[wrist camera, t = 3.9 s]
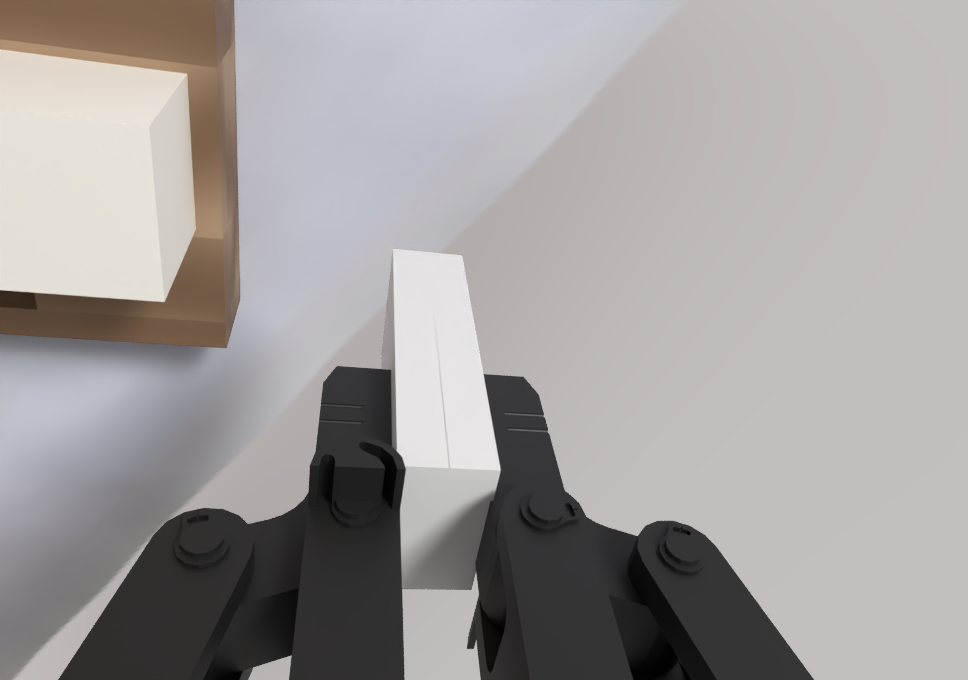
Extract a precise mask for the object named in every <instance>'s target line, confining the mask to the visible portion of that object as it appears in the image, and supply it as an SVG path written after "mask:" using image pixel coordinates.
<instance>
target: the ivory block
mask: <svg viewBox="0 0 968 680" xmlns="http://www.w3.org/2000/svg"><path fill="white" fill-rule="evenodd" d="M195 230H196V223H195V205H194V187H193V169H192V152H191V134H190V116H189V98H188V80H187V74H185V73H177V72H169V71H162V70H154V69H146V68H139V67H131V66H123V65H116V64H108V63H100V62H93V61H85V60H77V59H70V58H62V57H54V56H47V55H39V54H31V53H24V52H16V51H8V50H1V49H0V290H6V291H20V292H33V293H47V294H61V295H74V296H88V297H102V298H115V299H129V300H142V301H156V302H165V300H166V298H167V295H168V293H169V291H170V288H171V286H172V284H173V281H174V279H175V277H176V274H177V272H178V270H179V267H180V265H181V263H182V260H183V258H184V256H185V253H186V251H187V249H188V246H189V244H190V242H191V239H192V237H193V235H194V233H195Z"/></svg>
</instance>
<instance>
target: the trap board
mask: <svg viewBox="0 0 968 680" xmlns="http://www.w3.org/2000/svg"><path fill="white" fill-rule="evenodd" d="M0 49H1V50H8V51H16V52H24V53H31V54H39V55H47V56H54V57H62V58H70V59H77V60H85V61H93V62H100V63H108V64H116V65H123V66H131V67H139V68H146V69H154V70H162V71H169V72H177V73H185V74H187V80H188V98H189V116H190V134H191V152H192V169H193V187H194V205H195V223H196V230H195V233H194V235H193V237H192V239H191V242H190V244H189V246H188V249H187V251H186V253H185V256H184V258H183V260H182V263H181V265H180V267H179V270H178V272H177V274H176V277H175V279H174V281H173V284H172V286H171V288H170V291H169V293H168V295H167V298H166V300H165V302H156V301H142V300H129V299H115V298H102V297H88V296H74V295H61V294H47V293H33V292H20V291H6V290H0V334H11V335H27V336H43V337H59V338H75V339H91V340H106V341H122V342H138V343H154V344H170V345H186V346H202V347H218V348H227V345H228V341H229V337H230V334H231V330H232V327H233V323H234V319H235V316H236V312H237V308H238V305H239V301H240V274H239V225H238V176H237V126H236V77H235V28H234V0H0Z"/></svg>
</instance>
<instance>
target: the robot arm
mask: <svg viewBox="0 0 968 680" xmlns="http://www.w3.org/2000/svg"><path fill="white" fill-rule="evenodd" d="M543 415H544V413H543V410H542V406H541V402H540V398H539V395H538V394H537V392H536V391H535V390H534V389H533V388H532V387H531V385H530V384H529V383H528V382H527V381H526V380H525V378H524V377H516V376H501V375H486V374H483V369H482V364H481V358H480V352H479V347H478V342H477V336H476V330H475V325H474V319H473V314H472V308H471V303H470V297H469V291H468V287H467V281H466V275H465V270H464V264H463V258H462V256H461V255H450V254H440V253H430V252H420V251H410V250H399V249H393V254H392V263H391V272H390V281H389V290H388V299H387V308H386V318H385V326H384V336H383V344H382V369H370V368H355V367H341V366H337V367H336V368H335V369H334V370H333V372H332V373H331V374H330V375H329V376H328V378H327V379H326V380H325V381H324V383H323V391H322V400H321V409H320V418H319V427H318V436H317V445H316V453H315V455H314V457H313V459H312V462H311V464H310V477H309V493H308V494H307V496H306V497H305V499H304V500H303V501H302V502H301V503H300V504H299V505H297V506H296V507H295V508H294V509H292V510H290V511H289V512H287V513H285V514H283V515H281V516H278V517H275V518H272V519H269V520H264V521H260V522H256V523H252V524H247V523H246V522H245V521H244V520H243V519H242V518H241V517H240V516H238V515H236V514H234V513H231V512H229V511H226V510H223V509H210V508H202V509H197V510H193V511H188V512H184V513H182V514H180V515H178V516H176V517H175V518H173V519H171V520H169V521H167V522H166V523H165V524H164V525H163V526H162V527H161V528H160V529H159V530H158V531H157V532H156V533H155V534H154V535H153V537H152V538H151V540H150V542H149V543H148V544H147V546H146V547H145V549H144V551H143V552H142V554H141V555H140V557H139V558H138V560H137V561H136V563H135V564H134V566H133V567H132V569H131V570H130V572H129V573H128V575H127V577H126V578H125V579H124V581H123V582H122V584H121V585H120V587H119V588H118V590H117V592H116V593H115V595H114V596H113V598H112V599H111V601H110V602H109V604H108V605H107V607H106V608H105V610H104V611H103V613H102V614H101V616H100V617H99V619H98V620H97V622H96V623H95V625H94V626H93V628H92V629H91V631H90V632H89V634H88V635H87V637H86V638H85V640H84V641H83V643H82V645H81V646H80V648H79V649H78V651H77V652H76V654H75V655H74V657H73V658H72V660H71V661H70V663H69V664H68V666H67V667H66V669H65V670H64V672H63V673H62V675H61V676H60V678H59V679H58V680H248V678H249V676H250V674H251V672H252V668H253V667H256V666H259V665H262V664H265V663H268V662H271V661H275V660H278V659H281V658H284V657H287V656H291V655H292V658H291V667H290V677H289V680H404V648H403V608H402V589H447V590H451V589H452V590H453V589H454V590H471V589H472V585H473V581H474V577H475V573H477V581H478V589H479V597H478V601H477V605H476V609H475V612H474V617H473V621H472V625H471V629H470V632H469V636H468V645H467V649H474V646H475V642H476V640H477V649H478V658H479V667H480V676H481V680H814V679H813V678H812V677H811V675H810V674H809V672H808V671H807V670H806V668H805V667H804V665H803V664H802V663H801V662H800V660H799V659H798V657H797V656H796V655H795V653H794V652H793V651H792V649H791V648H790V646H789V645H788V644H787V643H786V641H785V640H784V638H783V637H782V636H781V634H780V633H779V631H778V630H777V629H776V627H775V626H774V625H773V623H772V622H771V621H770V619H769V618H768V617H767V615H766V614H765V612H764V611H763V610H762V609H761V607H760V606H759V604H758V603H757V602H756V600H755V599H754V598H753V596H752V595H751V594H750V592H749V591H748V589H747V588H746V587H745V585H744V584H743V583H742V581H741V580H740V579H739V577H738V576H737V574H736V573H735V572H734V570H733V569H732V568H731V566H730V565H729V563H728V562H727V561H726V559H725V558H724V557H723V555H722V554H721V553H720V551H719V550H718V549H717V547H716V546H715V545H714V544H713V543H712V542H711V541H710V540H709V539H708V538H707V537H706V536H705V535H703V534H702V533H700V532H699V531H697V530H695V529H694V528H692V527H691V526H688V525H685V524H681V523H678V522H675V521H656V522H654V523H651V524H649V525H647V526H645V527H644V529H643V530H642V531H641V533H640V534H639V535H638V536H635V535H631V534H628V533H624V532H621V531H618V530H615V529H611V528H608V527H605V526H603V525H600V524H598V523H596V522H594V521H592V520H590V519H589V518H587V517H586V515H585V513H584V512H583V510H582V508H581V506H580V504H579V503H578V502H577V501H576V500H575V499H574V498H573V497H572V496H571V495H569V494H568V493H567V492H565V490H564V487H563V483H562V479H561V476H560V472H559V468H558V465H557V461H556V457H555V454H554V450H553V446H552V443H551V439H550V435H549V433H548V428H547V424H546V420H545V418H544V417H543Z"/></svg>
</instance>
